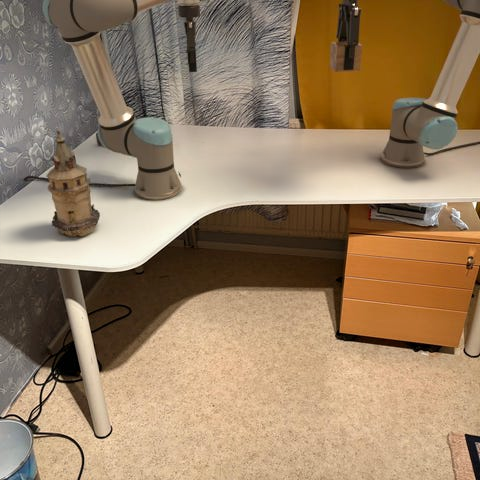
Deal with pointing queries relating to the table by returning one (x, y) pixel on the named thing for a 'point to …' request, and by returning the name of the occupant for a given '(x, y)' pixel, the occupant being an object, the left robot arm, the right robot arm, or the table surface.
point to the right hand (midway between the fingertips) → (344, 67)
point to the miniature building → (70, 193)
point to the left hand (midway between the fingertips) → (192, 67)
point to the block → (343, 57)
